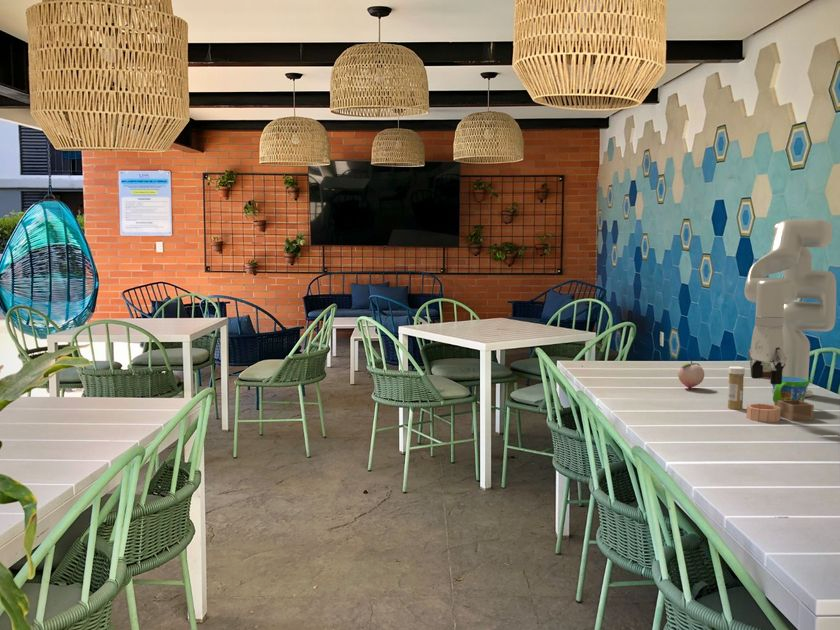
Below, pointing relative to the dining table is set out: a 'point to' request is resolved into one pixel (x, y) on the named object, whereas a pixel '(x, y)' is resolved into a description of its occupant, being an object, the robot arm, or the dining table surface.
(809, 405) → the walnut box
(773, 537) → the dining table surface
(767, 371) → the food container
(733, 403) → the sprinkles bottle
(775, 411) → the pot
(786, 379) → the snack cup
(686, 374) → the decorative fruit
